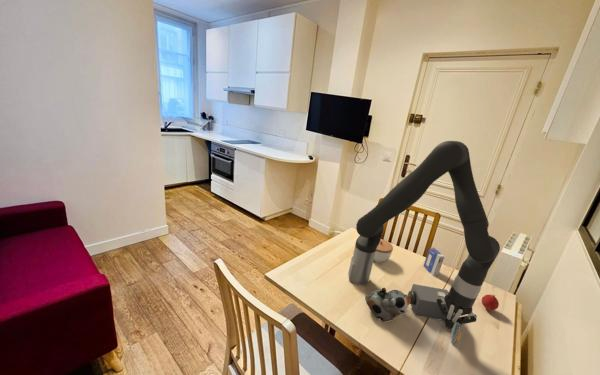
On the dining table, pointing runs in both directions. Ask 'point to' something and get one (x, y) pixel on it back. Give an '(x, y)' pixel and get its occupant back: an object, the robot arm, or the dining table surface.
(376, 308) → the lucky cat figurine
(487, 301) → the red bumpy ovoid
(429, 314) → the camera housing
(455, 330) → the door
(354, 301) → the dining table surface
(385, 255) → the lidded bowl
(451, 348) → the dining table surface
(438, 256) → the walkman
